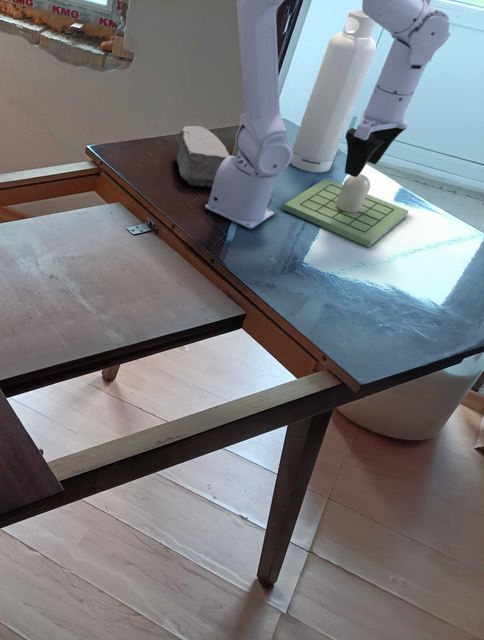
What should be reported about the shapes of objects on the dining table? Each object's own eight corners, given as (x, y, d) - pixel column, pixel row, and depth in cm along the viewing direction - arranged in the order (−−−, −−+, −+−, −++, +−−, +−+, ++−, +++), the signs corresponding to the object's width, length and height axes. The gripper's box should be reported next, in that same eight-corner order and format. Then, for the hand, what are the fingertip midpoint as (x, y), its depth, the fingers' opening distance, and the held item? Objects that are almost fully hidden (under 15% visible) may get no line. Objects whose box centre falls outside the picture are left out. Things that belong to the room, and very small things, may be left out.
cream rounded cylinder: (331, 205, 122) (344, 174, 118) (342, 198, 124) (354, 167, 120) (354, 215, 120) (367, 183, 116) (364, 207, 122) (378, 176, 118)
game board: (282, 209, 122) (284, 203, 121) (323, 183, 131) (325, 176, 130) (368, 247, 114) (371, 240, 113) (406, 216, 123) (409, 210, 122)
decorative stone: (196, 197, 124) (241, 187, 127) (203, 162, 120) (250, 152, 123) (153, 162, 135) (196, 154, 138) (158, 128, 130) (202, 121, 133)
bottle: (339, 169, 136) (398, 19, 118) (307, 174, 134) (363, 22, 115) (311, 152, 142) (364, 5, 123) (280, 156, 139) (329, 8, 121)
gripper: (401, 107, 102) (365, 189, 111) (437, 86, 110) (400, 164, 119) (356, 92, 105) (324, 173, 114) (394, 73, 114) (361, 150, 122)
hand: (360, 168), depth 117 cm, fingers open, 7 cm apart
